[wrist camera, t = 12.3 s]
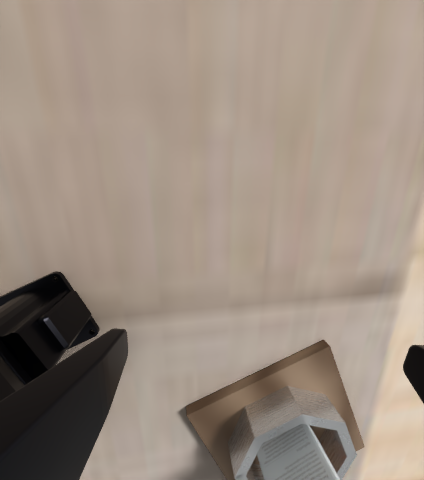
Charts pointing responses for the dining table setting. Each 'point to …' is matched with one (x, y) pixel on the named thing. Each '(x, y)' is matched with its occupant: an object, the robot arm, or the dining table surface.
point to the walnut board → (262, 384)
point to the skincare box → (295, 457)
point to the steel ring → (283, 419)
